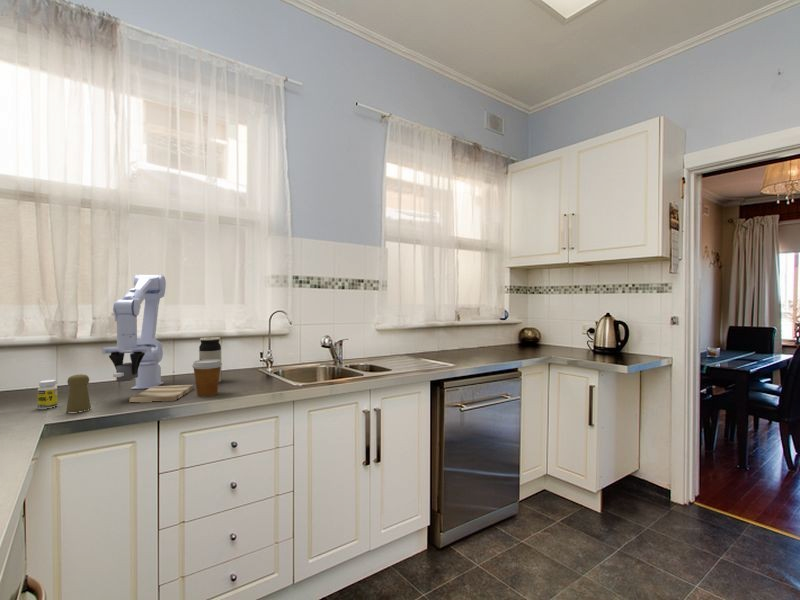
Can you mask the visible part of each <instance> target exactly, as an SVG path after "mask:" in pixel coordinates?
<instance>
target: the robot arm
mask: <svg viewBox="0 0 800 600" xmlns="http://www.w3.org/2000/svg"><path fill="white" fill-rule="evenodd" d="M166 284H167V283H166V277H165V276H164V274H138V273H137V274H136V275H135V276H134V279H133V288H130V289H128V290H127V291H126V293H125V294H124V295H123V296H122V298H121V299H118V300H116V301H114V302H113V308H112V312H113V315H114V322H116V346H113V347H112V346H111V347H110V346H109V347H103V348H102V349H101V352H102V355H105V354H109V355H108V357H109V359H110V360H111V363H113V366H114V368H115V369H116V366H118V365H121V364H124V357H125V354H129V360H130V362H132V374H137V372H138V377H137V378H135V385H134V386H132V387H130V389H131V390H135V389H136V390H138V389H139V390H141V389H149V388H151V387H153V386H162V385H163V384H164V381H162V375H161V374H162V368H161V365H160V364H159V363H160V362H161V361H162V359H163V355H164V352H163V344H162V343H161V341H159V340H158V339H157V338H156V334H157V324H158V316H159V314H158V313H159V305H160V300H161V298H164V297H165V294H166V288H167V286H166ZM143 301H144V308H143V316H142V317H143V318H142V324H141V331H140V332H141V333H140V338H138V317H137V316H139V314H140V310H141V307H142V306H141V305H142V303H143Z"/></svg>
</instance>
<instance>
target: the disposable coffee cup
mask: <svg viewBox="0 0 800 600" xmlns="http://www.w3.org/2000/svg"><path fill="white" fill-rule="evenodd" d="M222 363H223V362H222V360H221V361H220V360H218V359H206V360H199V359H198V360H194V361H193V364H192V365H191V367H192V369H193V371H194V374H193V375H194V380H195V388H196V394H197V397H199V396H208V397H213V395H214V396H216V395H218V389H219V383H220V382H219V375H220V367H221V368H222V365H223V364H222Z"/></svg>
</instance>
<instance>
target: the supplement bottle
mask: <svg viewBox="0 0 800 600" xmlns="http://www.w3.org/2000/svg"><path fill="white" fill-rule="evenodd" d="M58 393H59V392H58V386H57V381H56V379H45V380H41V381H39V382H38V388H37V409H38V410H48V409H47V408H50V409H53V408H52V407H54V408H56V407H55V406H57V407H58V406H59V405H58V402H59V401H58Z"/></svg>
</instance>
